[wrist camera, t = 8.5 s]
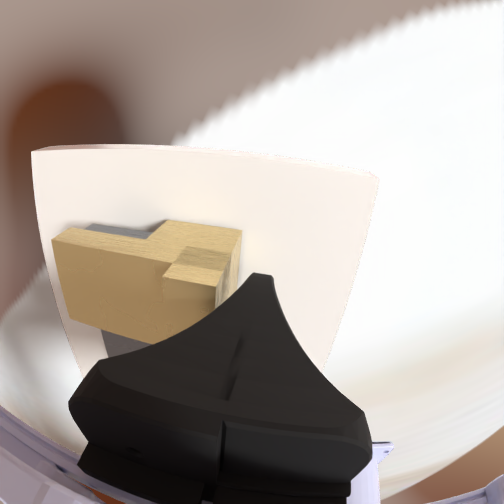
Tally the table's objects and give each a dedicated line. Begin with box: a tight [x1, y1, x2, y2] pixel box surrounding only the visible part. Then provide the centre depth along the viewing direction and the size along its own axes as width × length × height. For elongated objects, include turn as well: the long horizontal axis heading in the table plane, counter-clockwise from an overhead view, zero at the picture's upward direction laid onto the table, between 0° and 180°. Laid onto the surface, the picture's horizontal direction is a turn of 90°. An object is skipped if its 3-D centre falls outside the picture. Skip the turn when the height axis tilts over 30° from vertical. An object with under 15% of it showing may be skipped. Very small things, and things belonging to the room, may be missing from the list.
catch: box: [51, 220, 242, 344], centre depth 11 cm, size 4×6×4 cm, turn 84°
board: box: [31, 144, 380, 378], centre depth 15 cm, size 20×16×4 cm
